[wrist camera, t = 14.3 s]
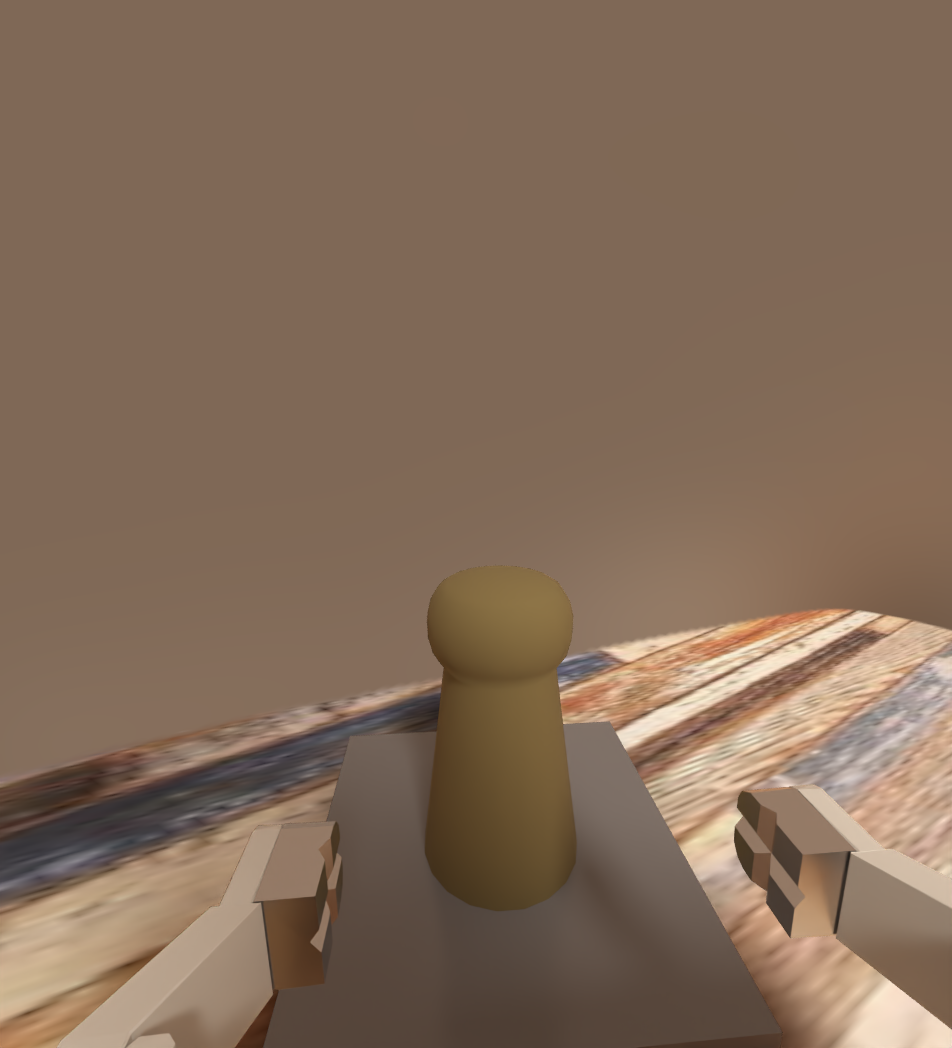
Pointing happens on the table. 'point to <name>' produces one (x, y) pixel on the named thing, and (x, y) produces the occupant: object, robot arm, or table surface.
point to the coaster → (520, 928)
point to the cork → (500, 739)
